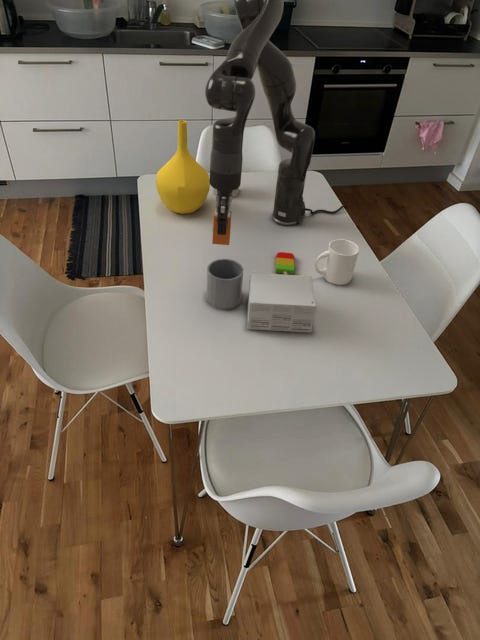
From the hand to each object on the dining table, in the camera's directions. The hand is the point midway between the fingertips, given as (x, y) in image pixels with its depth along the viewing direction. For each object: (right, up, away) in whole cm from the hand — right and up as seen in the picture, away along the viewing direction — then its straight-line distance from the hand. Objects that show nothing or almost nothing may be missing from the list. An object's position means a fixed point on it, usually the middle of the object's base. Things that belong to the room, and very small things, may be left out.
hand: (222, 229), depth 130 cm
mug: (+32, -11, +21) cm, 40 cm away
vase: (-15, +16, +48) cm, 53 cm away
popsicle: (+18, -9, +22) cm, 30 cm away
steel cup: (0, -17, +10) cm, 20 cm away
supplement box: (+15, -22, +7) cm, 28 cm away
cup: (0, +24, +58) cm, 63 cm away
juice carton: (0, -3, +2) cm, 3 cm away
